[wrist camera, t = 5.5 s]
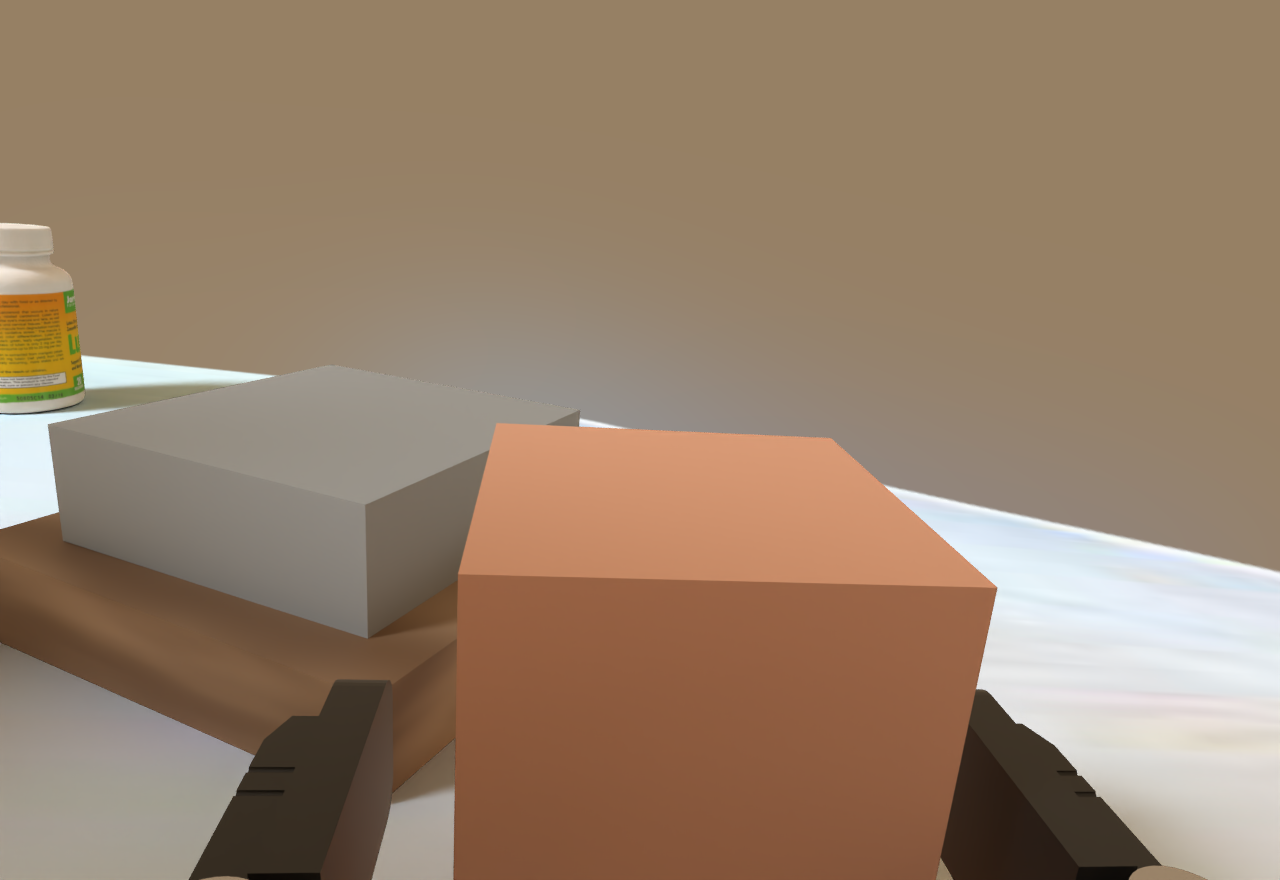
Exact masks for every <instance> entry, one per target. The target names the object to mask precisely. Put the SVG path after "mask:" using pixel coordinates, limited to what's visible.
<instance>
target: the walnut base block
mask: <svg viewBox="0 0 1280 880" xmlns="http://www.w3.org/2000/svg"><path fill="white" fill-rule="evenodd" d="M457 604H458V580H457V581H455V582H454V583H452V584H451V585H449V586H448V587H446V588H445V589H443V590H442V591H440V592H439V593H437V594H436V595H434V596H433V597H431V598H429V599H428V600H426V601H425V602H423V603H422V604H420V605H419V606H417V607H416V608H414V609H413V610H411V611H410V612H408V613H406V614H405V615H403V616H402V617H400V618H399V619H397V620H396V621H394V622H393V623H391V624H390V625H388V626H387V627H385V628H383V629H382V630H380V631H379V632H377V633H376V634H374V635H373V636H371V637H370V638H368V639H367V638H364V637H361V636H358V635H355V634H351V633H348V632H345V631H342V630H339V629H336V628H333V627H329V626H326V625H323V624H320V623H317V622H314V621H311V620H308V619H304V618H301V617H298V616H295V615H292V614H289V613H286V612H282V611H279V610H276V609H273V608H270V607H267V606H264V605H260V604H257V603H254V602H251V601H248V600H245V599H242V598H239V597H236V596H232V595H229V594H226V593H223V592H220V591H217V590H214V589H211V588H208V587H205V586H202V585H198V584H195V583H192V582H189V581H186V580H183V579H180V578H177V577H174V576H171V575H168V574H164V573H161V572H158V571H155V570H152V569H149V568H146V567H143V566H140V565H137V564H134V563H130V562H127V561H124V560H121V559H118V558H115V557H112V556H109V555H106V554H103V553H100V552H96V551H93V550H90V549H87V548H84V547H81V546H78V545H75V544H72V543H69V542H66V541H63V537H62V530H61V522H60V514H59V512H58V513H55V514H51V515H48V516H45V517H41V518H38V519H34V520H31V521H28V522H24V523H21V524H17V525H14V526H11V527H7V528H4V529H0V642H1V643H3V644H5V645H8V646H10V647H12V648H14V649H17V650H19V651H21V652H23V653H26V654H28V655H30V656H32V657H35V658H37V659H39V660H41V661H44V662H46V663H48V664H50V665H53V666H55V667H57V668H59V669H62V670H64V671H66V672H68V673H71V674H73V675H75V676H77V677H80V678H82V679H84V680H86V681H89V682H91V683H93V684H95V685H98V686H100V687H102V688H104V689H107V690H109V691H111V692H113V693H116V694H118V695H120V696H122V697H125V698H127V699H129V700H131V701H134V702H136V703H138V704H140V705H143V706H145V707H147V708H149V709H152V710H154V711H156V712H158V713H161V714H163V715H165V716H167V717H170V718H172V719H174V720H176V721H179V722H181V723H183V724H185V725H188V726H190V727H192V728H194V729H197V730H199V731H201V732H203V733H206V734H208V735H210V736H212V737H215V738H217V739H219V740H221V741H224V742H226V743H228V744H230V745H233V746H235V747H237V748H239V749H242V750H244V751H246V752H248V753H251V754H253V755H256V753H257V751H258V749H259V748H260V746H261V744H262V742H263V740H264V739H265V738H266V737H267V736H268V735H270V734H271V733H272V732H273V731H275V730H276V729H277V728H278V727H279V726H281V725H282V724H283V723H284V722H285V721H287V720H288V719H289V718H290V717H291V716H319V714H320V712H321V710H322V708H323V705H324V703H325V701H326V699H327V697H328V694H329V692H330V690H331V688H332V686H333V684H334V682H335V681H336V680H337V679H352V680H390V681H391V684H392V693H393V786H392V793H393V792H394V791H395V790H396V789H398V788H399V787H400V786H401V785H402V784H403V783H404V782H405V781H407V780H408V779H409V778H410V777H411V776H412V775H413V774H415V773H416V772H417V771H418V770H419V769H420V768H421V767H423V766H424V765H425V764H426V763H427V762H428V761H429V760H431V759H432V758H433V757H434V756H435V755H436V754H437V753H439V752H440V751H441V750H442V749H443V748H444V747H445V746H447V745H448V744H449V743H450V742H451V741H452V740H453V739H454V738H456V674H457Z"/></svg>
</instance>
